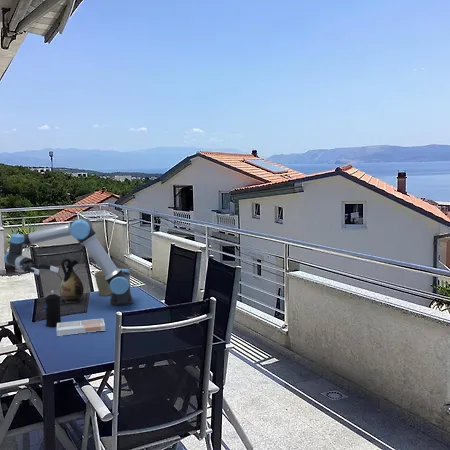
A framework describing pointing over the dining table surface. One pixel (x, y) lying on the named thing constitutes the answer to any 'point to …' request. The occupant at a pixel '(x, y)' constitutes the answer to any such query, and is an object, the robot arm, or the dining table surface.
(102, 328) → the tray
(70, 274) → the ceramic jug
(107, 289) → the plant pot
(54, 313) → the aerosol can
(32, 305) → the dining table surface
